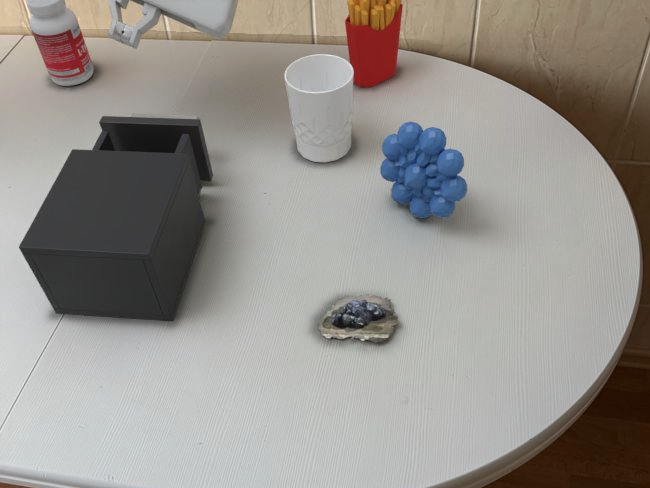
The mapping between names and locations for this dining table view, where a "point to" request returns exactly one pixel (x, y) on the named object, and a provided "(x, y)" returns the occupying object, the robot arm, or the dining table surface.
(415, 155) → the grapes
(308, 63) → the white cup
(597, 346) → the dining table surface
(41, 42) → the pill bottle
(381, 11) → the french fries
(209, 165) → the drawer
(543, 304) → the dining table surface
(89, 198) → the cabinet
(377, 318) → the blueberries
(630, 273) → the dining table surface
